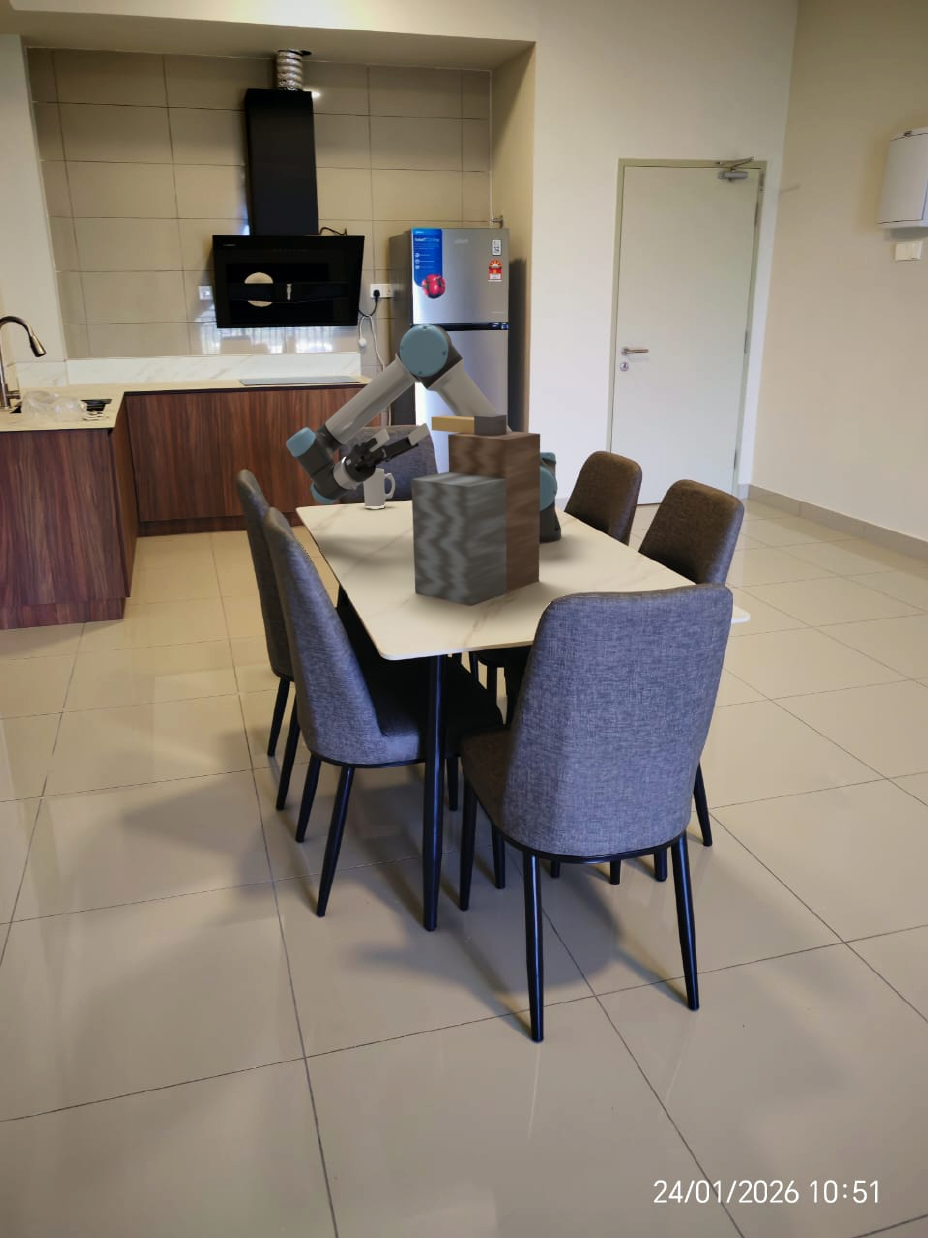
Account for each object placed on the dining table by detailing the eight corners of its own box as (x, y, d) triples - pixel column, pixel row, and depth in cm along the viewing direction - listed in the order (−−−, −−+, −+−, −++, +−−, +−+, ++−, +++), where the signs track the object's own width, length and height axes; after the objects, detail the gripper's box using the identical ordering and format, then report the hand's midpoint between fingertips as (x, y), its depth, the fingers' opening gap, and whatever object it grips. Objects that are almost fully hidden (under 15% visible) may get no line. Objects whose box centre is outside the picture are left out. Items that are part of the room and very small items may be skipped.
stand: (415, 592, 203) (409, 440, 193) (484, 569, 220) (483, 428, 210) (470, 605, 193) (468, 446, 183) (539, 580, 210) (540, 433, 200)
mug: (364, 510, 290) (362, 472, 286) (364, 506, 296) (362, 468, 292) (396, 509, 290) (394, 470, 287) (395, 505, 297) (394, 467, 293)
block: (430, 430, 209) (429, 412, 208) (445, 428, 213) (444, 410, 212) (492, 435, 198) (492, 416, 197) (506, 433, 202) (506, 414, 200)
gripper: (396, 475, 239) (449, 440, 224) (322, 489, 221) (374, 451, 206) (385, 449, 239) (437, 411, 225) (311, 461, 221) (361, 421, 207)
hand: (407, 430), depth 215 cm, fingers open, 13 cm apart
